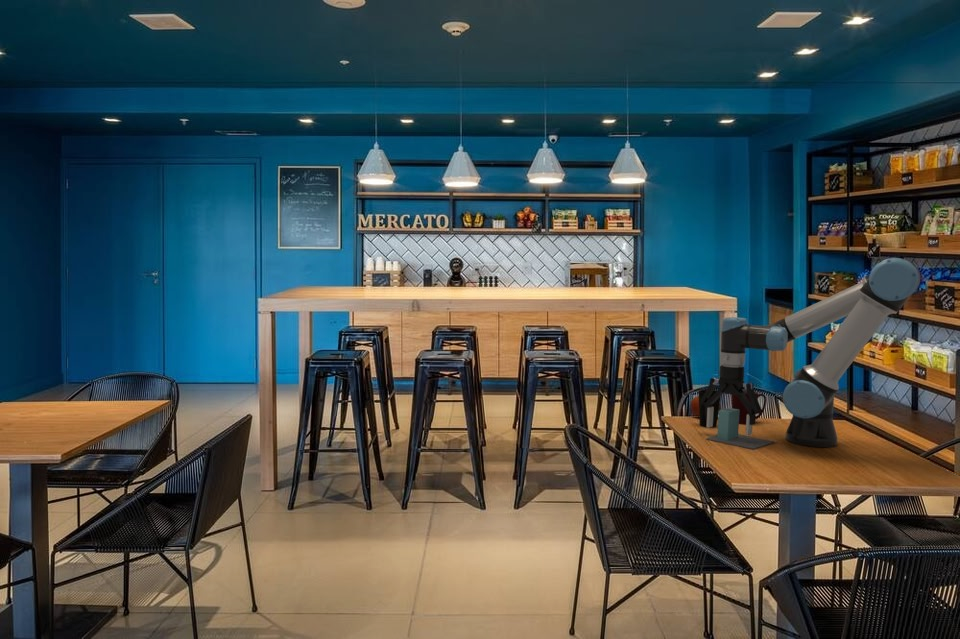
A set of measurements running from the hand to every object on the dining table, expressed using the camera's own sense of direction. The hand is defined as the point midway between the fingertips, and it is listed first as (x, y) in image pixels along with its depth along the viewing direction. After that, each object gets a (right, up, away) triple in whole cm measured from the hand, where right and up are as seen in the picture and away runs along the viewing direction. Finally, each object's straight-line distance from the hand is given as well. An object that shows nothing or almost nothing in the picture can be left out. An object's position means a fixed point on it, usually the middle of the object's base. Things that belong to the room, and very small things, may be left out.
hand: (728, 430), depth 237 cm
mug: (+16, -1, +26) cm, 30 cm away
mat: (+3, -3, -3) cm, 5 cm away
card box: (0, -2, 0) cm, 2 cm away
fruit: (+2, 0, +33) cm, 33 cm away
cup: (-1, -1, +19) cm, 19 cm away
